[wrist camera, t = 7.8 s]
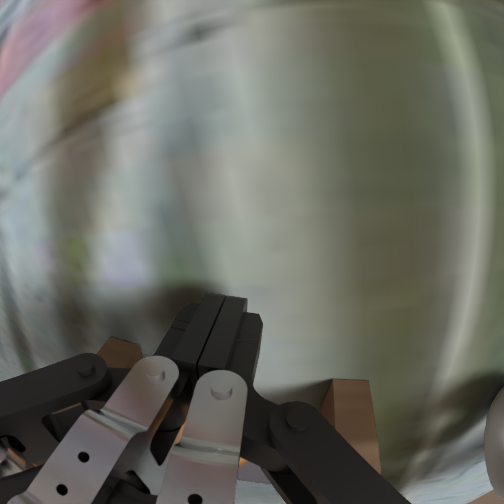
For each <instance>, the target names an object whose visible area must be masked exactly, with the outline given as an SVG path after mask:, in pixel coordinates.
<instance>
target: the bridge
mask: <svg viewBox="0 0 504 504" xmlns="http://www.w3.org/2000/svg"><path fill="white" fill-rule="evenodd" d="M97 355H99V356H101V357H102V358H103V359H104V360H105V362H106V364H107V367H108V368H133V366H134V365H135V364H136V363H137V362H138V361H139V360H141V359H143V358H142V354H141V349H140V345H137V344H133V343H130V342H127V341H123V340H120V339H117V338H113V337H110V338H109V339H108V340H107V342H106V343H105V344H104V346H103V347H102V348H101V349H100V351H99V352H98V353H97ZM78 405H81V403H78V404H76V405H73V406H70V407H67V408H65V409H62V410H59V411H56V412H54V413H53V414H55V413H59V412H62V411H65V410H67V409H70V408H73V407H75V406H78ZM320 413H321V414H322V415H323V416H324V417H325V419H326V420H327V421H328V422H329V423H330V424H331V425H332V426H333V427H334V428H335V429H336V430H337V431H338V432H339V433H340V434H341V435H342V437H343V438H344V439H345V440H346V441H347V442H348V443H349V444H350V445H351V446H352V447H353V448H354V449H355V450H356V451H357V452H358V453H359V454H360V455H361V456H362V457H363V458H364V459H365V460H366V461H367V462H368V463H369V464H370V465H371V466H372V467H373V468H374V469H375V470H376V471H377V472H378V473H379V474H380V475H381V467H380V457H379V448H378V439H377V432H376V424H375V417H374V410H373V404H372V398H371V392H370V386H369V381H364V380H343V379H333V380H332V382H331V385H330V387H329V390H328V392H327V394H326V397H325V399H324V401H323V404H322V406H321V408H320ZM47 460H48V459H46V460H43V461H40V462H37V463H33V465H35V466H36V467H37V466H39V465H42V464H45V463H46V462H47Z"/></svg>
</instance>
